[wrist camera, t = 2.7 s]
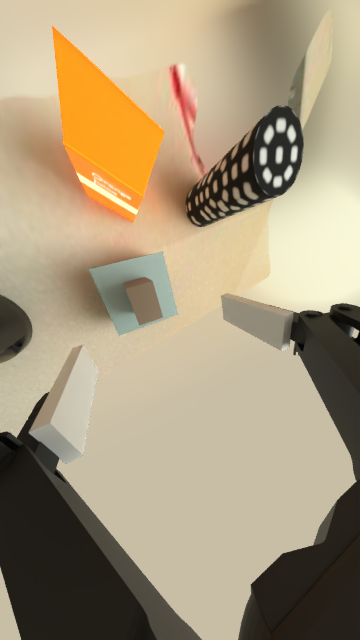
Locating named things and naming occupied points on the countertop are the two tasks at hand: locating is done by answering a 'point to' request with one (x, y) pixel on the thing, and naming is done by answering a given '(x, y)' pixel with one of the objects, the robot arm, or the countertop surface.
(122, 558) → the robot arm
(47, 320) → the countertop surface
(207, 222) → the white-spotted black cylinder
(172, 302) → the lid
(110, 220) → the countertop surface
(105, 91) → the orange juice
